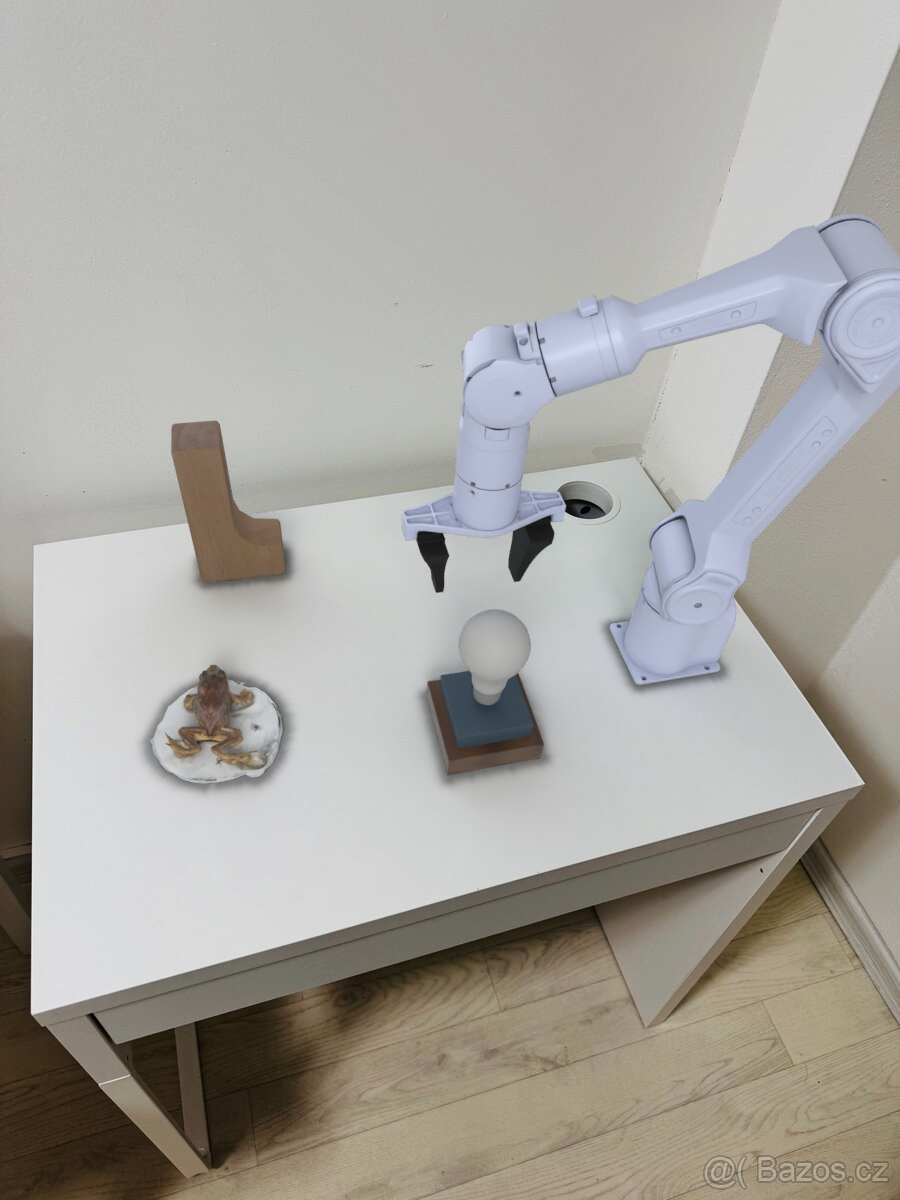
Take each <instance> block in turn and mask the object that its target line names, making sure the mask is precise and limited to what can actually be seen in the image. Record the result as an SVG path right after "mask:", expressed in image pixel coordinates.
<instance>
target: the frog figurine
mask: <svg viewBox="0 0 900 1200" xmlns="http://www.w3.org/2000/svg"><path fill="white" fill-rule="evenodd" d="M238 683H240V684H238ZM245 684H247V685H248V683H247V682H242V681H235V680H233V679H229V678H228V676H227V672H225V670H223V669H222V668H221V667H220V666H218V665H217V664H210V665H209V666H208V667H207V669H206V670H202V672H201V673H200V674H199V676H198V683H197V685H195V686H194V687H191V688H189V689H187V691H185V692H184V693H183V694H181V695H179V697H177V699H176V700H175V701H173V702H172V703H171V704H169V705H168V706H167V708H166V711H165V713H164V715H163V718H162V719H161V721H160V722H159V724H158V725H157V726H156V731H154V735H153V737H152V738H150V740H149V742H150V744H151V749H152V753H153V756H155V758H156V759H157V760H158V762H159V764H160V766H161V767H163V769H164V770H165V771H167V772H168V773H170V774H173V775H174V776H175V777H177V778H179V779H180V780H183V781H185V782H191V783H195V784H203V785H204V784H205V785H206V784H211V783H213V784H215V783H222V782H228V781H232V780H235V779H238V778H240V777H242V776H243V777H244V776H247V777H249V778H259V777H261V776H262V775H263V774H264V773H265V771H266V769H268V768H269V767H271V765H272V764H273V763H274V761H275V759H276V758H277V755H278V752H279V750H280V745H281V741H282V736H283V732H284V728H283V721H282V713H280V711H279V710H278V705H277V704H276V703H275V701H274V700H273V699H272V698H271V697H270V696H269V695H268V694H267V693H266V692H265V691H263V690H261V689H260V688H258V687H256V686H252V687H249V686H246V685H245Z"/></svg>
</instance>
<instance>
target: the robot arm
mask: <svg viewBox="0 0 900 1200" xmlns="http://www.w3.org/2000/svg"><path fill="white" fill-rule="evenodd" d="M577 305H578V306H576V307H573V308H570V309H567V310H564V311H560V312H559V313H556V314H553V315H549V316H547V317H544V318H541V319H537V320H534V321H531V322H530V323H528V320H524V321H521V322H519V323H516V324H513V325H511V324H510V325H507V324H504V323H499V324H491V325H488V326H485V327H483V328H480V330H478V331H476V332H475V333H474V334H473V335H472V338H469V339H468V341H467V343H466V344H465V347H464V348H463V349H462V350H461V351H460V358H461V359H460V360H461V364H462V401H461V408H460V413H461V415H460V417H459V420H458V429H457V441H456V452H455V453H456V454H455V470H454V481H453V492H452V493H449V494H448V495H445V496H443V497H440V498H437V499H435V500H433V501H429V502H427V503H425V504H423V505H419V506H416V507H412V508H407V509H402V510H401V515H400V516H401V517H400V518H401V519H400V527H401V531H402V534H403V538H404V541H405V542H411V541H416V544H417V547H418V550H419V554H420V555H421V558H422V559H423V561H424V562H425V563H426V565H427V567H428V568H429V570H430V579H431V582H432V586H433V588H434V592H435V593H436V594H439V593H444V590H445V573H446V567H447V564H448V560H449V558H450V554H449V550H448V548H447V544H446V537H445V535H444V534H446V535H455V536H464V537H472V538H479V539H493V538H495V539H496V538H498V537H503V536H505V535H507V534H509V533H512V537H511V543H510V549H509V554H508V562H507V568H508V570H509V573H510V575H511V578H512V581H513V583H518V582H521V581H522V579H523V577H524V575H525V574H526V572H527V570H528V569H529V568H530V566H531V564H532V563H533V561H534V560H535V559H536V557H537V556H539V554H541V553H542V551H544V550H545V549H547V548H548V547H549V546H551V545H552V544H553V542H554V539H555V534H556V533H555V530H554V528H553V526H552V523H561V522H563V521H564V518H565V513H566V510H567V509H566V508H567V504H566V503H565V501H564V499H563V496H562V494H561V492H560V491H547V492H546V491H535V490H528V489H527V490H526V489H522V484H523V478H524V472H525V471H524V470H525V465H526V458H527V452H528V445H529V440H530V434H531V424H530V422H531V421H532V420H533V419H534V418H535V417H536V416H537V414H538V413H539V412H540V410H541V409H542V408H543V407H544V406H548V405H550V404H552V401H553V400H555V399H556V398H558V397H562V396H565V395H568V394H569V395H570V394H573V393H575V392H579V391H581V390H585V389H587V388H590V387H594V386H598V385H600V384H603V383H606V382H610V381H614V380H616V379H620V378H622V377H626V376H629V375H631V374H633V373H634V372H635V371H636V369H637V368H638V366H639V365H640V364H641V362H642V360H643V358H644V357H645V356H646V355H647V353H649V352H652V351H655V350H660V349H664V348H668V347H673V346H675V345H679V344H684V343H687V342H692V341H695V340H701V339H704V338H708V337H712V336H716V335H720V334H723V333H728V332H732V331H736V330H740V329H745V328H747V327H751V326H756V325H764V326H767V327H769V328H771V329H773V330H775V331H777V332H779V333H781V334H783V335H785V336H787V337H789V338H790V339H793V340H795V341H796V342H799V343H800V344H802V345H805V346H808V347H809V346H810V347H811V346H812V345H813V343H814V338H815V335H816V333H817V339H818V344H819V349H820V353H821V362H820V364H819V365H818V366H817V367H815V370H814V371H812V373H811V374H810V375H809V377H808V378H807V379H806V380H805V381H804V382H803V384H802V385H801V386H800V387H799V389H798V390H797V391H796V392H795V393H794V394H793V395H792V397H790V399H789V400H788V401H787V403H786V404H785V405H784V406H783V408H781V410H780V411H779V412H778V414H777V415H776V416H775V417H774V418H773V419H772V421H771V422H770V423H769V424H768V425H767V426H766V427H765V428H764V430H763V431H762V432H761V433H760V435H759V436H758V437H757V439H755V441H754V442H753V443H752V444H751V446H749V448H748V449H747V450H746V452H744V454H743V455H742V456H741V457H740V459H739V460H738V461H737V462H736V463H735V465H733V467H732V468H731V469H730V470H729V471H728V473H727V474H726V475H725V476H724V478H723V479H722V480H721V481H720V483H718V485H717V486H716V487H715V488H714V489H713V490H712V491H711V493H710V494H709V495H708V496H707V498H706V499H705V500H702V499H691V498H690V499H689V498H688V499H686V500H685V501H684V502H683V503H682V504H681V506H680V507H679V508H678V509H677V510H676V511H674V512H672V513H671V514H669V515H668V516H666V517H664V518H662V519H660V520H659V521H658V522H657V523H656V524H654V526H653V527H652V528H651V529H650V532H649V534H648V538H647V541H648V543H647V544H648V547H649V549H650V552H651V554H652V558H653V559H652V562H651V565H650V567H649V569H648V570H647V572H646V574H645V576H644V578H643V581H642V583H641V586H640V590H639V592H638V595H637V598H636V600H635V604H634V607H633V610H632V613H631V616H630V619H629V620H625V621H619V622H618V621H617V622H612V623H610V624H609V627H608V629H609V631H610V633H611V635H612V639H613V640H614V642H615V644H616V646H617V648H618V651H619V652H620V655H621V657H622V660H623V661H624V663H625V666H626V667H627V670H628V672H629V674H630V676H631V678H632V680H633V682H634V684H636V685H638V686H643V685H648V684H654V683H655V684H656V683H660V682H665V681H673V680H678V679H684V678H689V677H695V676H702V675H707V674H713V673H718V672H720V670H721V665H720V663H719V660H720V657H721V656H722V653H723V651H724V648H725V647H726V644H727V643H728V641H729V638H730V636H731V634H732V633H733V630H734V628H735V626H736V622H737V621H736V620H737V605H736V600H735V597H734V596H735V594H736V592H737V590H738V589H739V588H740V587H741V586H742V585H743V584H744V583H745V582H746V579H747V575H748V569H749V562H750V557H751V549H752V545H753V543H754V542H755V540H756V539H757V538H758V537H759V536H760V534H762V532H764V531H765V529H766V528H767V527H768V526H769V525H770V524H771V523H772V522H773V521H774V520H775V519H776V518H777V517H778V516H779V514H780V513H782V511H783V510H784V509H785V508H787V506H788V505H790V503H791V502H792V501H793V500H794V499H795V497H797V496H798V494H800V492H801V491H802V490H803V489H804V488H805V487H806V486H807V485H808V484H809V483H810V482H811V480H813V479H814V478H815V476H817V474H818V473H819V472H820V471H821V470H822V469H823V468H824V467H825V466H826V465H827V464H828V462H829V461H831V460H832V459H833V458H834V457H835V455H836V454H837V453H838V452H839V451H840V450H841V449H842V448H843V447H844V446H845V445H846V443H847V442H848V441H849V440H850V439H851V438H853V436H854V435H855V434H856V433H857V432H858V431H859V430H860V429H861V428H862V427H863V426H864V425H865V424H866V422H867V421H868V420H869V419H870V418H871V417H872V416H873V415H874V414H875V413H876V412H877V411H878V410H879V409H880V408H881V407H882V405H884V404H885V402H886V401H887V400H888V399H889V398H890V397H891V396H892V395H893V394H894V393H895V392H896V390H897V389H898V388H899V387H900V256H899V255H898V254H897V252H896V251H895V249H894V248H893V247H892V245H891V244H890V242H889V241H888V240H887V238H886V236H885V234H884V232H883V230H882V227H881V226H880V225H879V224H878V222H877V221H876V220H875V219H872V218H871V217H869V216H867V215H864V214H859V213H844V214H839V215H835V216H833V217H831V218H828V219H827V220H824V221H823V222H821V223H820V224H818V225H815V224H814V225H809V226H805V227H804V226H803V227H799V228H798V227H797V228H796V229H793V230H792V231H790V232H789V233H788V234H787V235H785V236H784V237H783V238H782V239H780V240H779V241H778V242H777V243H775V244H774V245H773V246H772V247H771V248H769V249H767V250H766V251H764V252H761V253H758V254H756V255H754V256H751V257H748V258H746V259H743V260H741V261H739V262H737V263H733V264H732V265H730V266H726V267H724V268H722V269H719V270H716V271H715V272H712V273H710V274H707V275H705V276H702V277H700V278H697V279H695V280H693V281H690V282H688V283H685V284H683V285H680V286H678V287H675V288H673V289H670V290H668V291H665V292H663V293H660V294H657V295H656V296H653V297H650V298H648V299H646V300H643V301H640V302H638V303H634V302H631V301H628V300H625V299H623V298H621V297H619V296H616V295H612V294H611V295H608V296H605V297H602V298H599V299H597V296H596V295H595V294H591V295H587V296H584V297H582V298H579V299H578V300H577Z"/></svg>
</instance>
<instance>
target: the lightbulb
mask: <svg viewBox="0 0 900 1200" xmlns="http://www.w3.org/2000/svg"><path fill="white" fill-rule="evenodd" d="M458 638H459V639H458V651H459V656H460V659H461V661H462V663H463V665H464V666H465V667H466V669H467V671H470V672H471V674H472V684H473V695H474V698H475V700H476V701H477V702H479V703H480V704H483V705H493V704H495V703H496V702H498V701H499V699H500V696H501V693H502V690H503V689H504V688H505V686H506V683H507V680H508V679H510V678H511V677H513V676H514V675H516V674H517V673H519V674H520V672H521V670H523V669H524V667H525V666H526V664H527V662H528V660H529V658H530V656H531V649H532V643H531V636H530V633H529V630H528V628H527V626H526V625H525V624H524V622H523V621H522V620H521V619H520V618H519V617H518V616H516V615H515V614H513V613H511V612H510V611H507V610H503V609H497V608H496V609H495V608H493V609H486V610H482V611H480V612H478V613H476V614H474V615H473V616H472V617H470V618H469V619H468V620H467V622H466V623H465V624H464V626H463V627H462V629H461V632H460V634H459V637H458Z"/></svg>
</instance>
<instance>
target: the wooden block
mask: <svg viewBox="0 0 900 1200" xmlns="http://www.w3.org/2000/svg"><path fill="white" fill-rule="evenodd" d="M170 432H171V435H170V438H171V439H170V440H171V441H170V453H171V454H170V455H171V456H172V457H171V458H172V462H173V466H174V470H175V474H176V478H177V482H178V487H179V492H180V496H181V499H182V504H183V508H184V512H185V516H186V520H187V521H186V522H187V524H188V529H189V533H190V537H191V542H192V546H193V549H194V554H195V558H196V562H197V566H198V567H197V568H198V570H199V575H200V579H201V581H202V583H205V584H207V583H216V582H225V581H233V580H243V579H251V578H252V579H253V578H262V577H271V576H280V575H285V574H286V571H287V566H286V557H285V550H284V541H283V534H282V524H281V521H280V520H279V519H278V518H262V517H261V518H260V517H253V516H250V515H249V514H247V513H245V512H243V511H242V510H240V508H239V506H238V505H237V503H236V501H235V499H234V495H233V490H232V484H231V479H230V473H229V468H228V462H227V456H226V451H225V444H224V440H223V434H222V429H221V424H220V423H219V421H218V420H205V421H191V422H190V421H189V422H176V423H172V425H171V431H170Z"/></svg>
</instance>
